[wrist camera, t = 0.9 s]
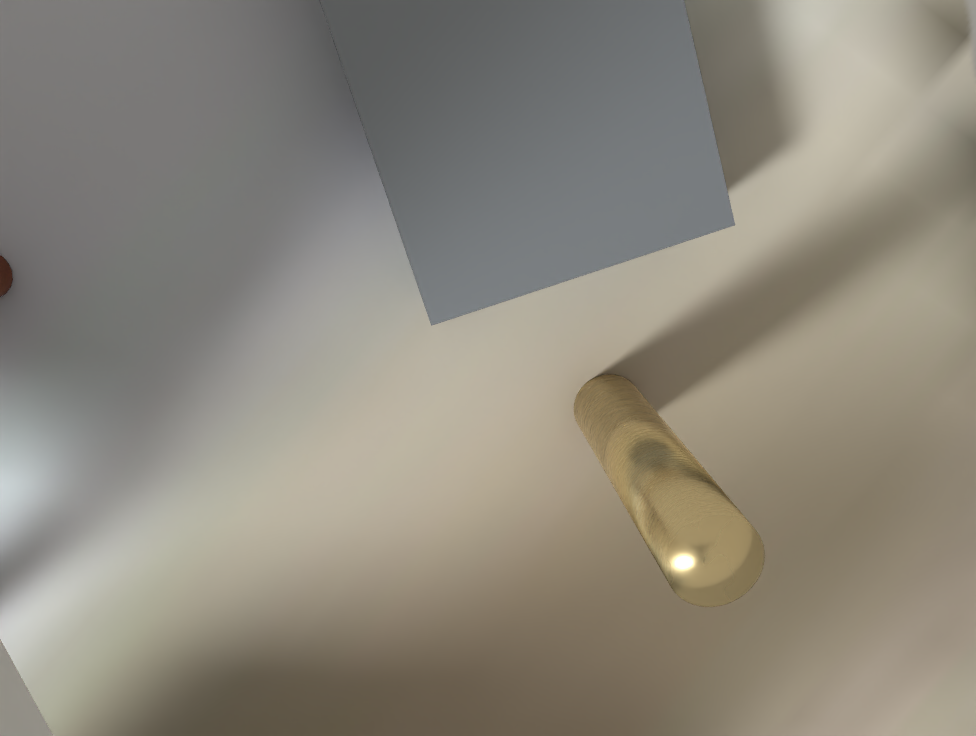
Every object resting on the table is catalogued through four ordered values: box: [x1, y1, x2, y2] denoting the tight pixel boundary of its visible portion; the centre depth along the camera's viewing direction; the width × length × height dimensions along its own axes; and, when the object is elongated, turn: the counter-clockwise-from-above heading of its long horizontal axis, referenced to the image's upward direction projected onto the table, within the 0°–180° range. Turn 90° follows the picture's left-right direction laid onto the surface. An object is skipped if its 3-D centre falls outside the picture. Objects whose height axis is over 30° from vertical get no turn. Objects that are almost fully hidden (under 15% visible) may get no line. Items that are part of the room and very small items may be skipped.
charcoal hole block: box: [320, 0, 735, 326], centre depth 33 cm, size 20×12×4 cm, turn 17°
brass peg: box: [574, 374, 765, 607], centre depth 34 cm, size 3×3×14 cm
